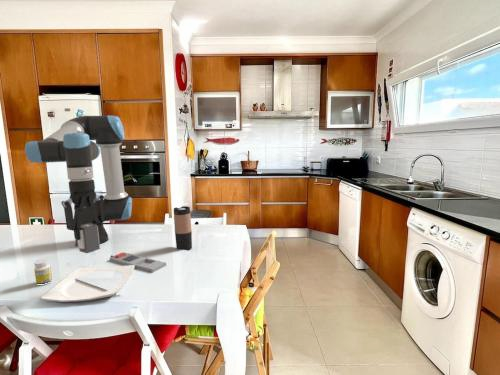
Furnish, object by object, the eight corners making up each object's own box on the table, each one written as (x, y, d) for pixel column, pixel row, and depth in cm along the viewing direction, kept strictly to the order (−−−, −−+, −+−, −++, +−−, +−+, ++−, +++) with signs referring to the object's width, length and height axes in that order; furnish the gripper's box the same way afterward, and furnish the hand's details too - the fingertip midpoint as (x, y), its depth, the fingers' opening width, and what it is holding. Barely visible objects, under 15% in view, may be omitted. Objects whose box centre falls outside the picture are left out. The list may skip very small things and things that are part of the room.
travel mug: (188, 252, 131) (185, 210, 128) (173, 251, 132) (170, 209, 129) (194, 246, 138) (192, 206, 135) (180, 245, 140) (177, 206, 137)
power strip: (104, 261, 123) (103, 254, 122) (118, 255, 129) (117, 249, 128) (153, 274, 108) (152, 267, 108) (166, 267, 114) (166, 260, 114)
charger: (79, 251, 98) (76, 226, 97) (92, 247, 102) (89, 222, 101) (87, 253, 96) (84, 227, 95) (99, 249, 100) (96, 224, 99)
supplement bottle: (42, 280, 107) (38, 259, 105) (55, 279, 107) (52, 258, 106) (33, 286, 102) (30, 264, 101) (47, 285, 102) (44, 263, 101)
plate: (116, 302, 90) (115, 295, 90) (35, 308, 88) (34, 300, 88) (139, 269, 114) (138, 263, 114) (76, 273, 112) (75, 267, 112)
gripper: (59, 183, 86) (69, 256, 90) (111, 177, 101) (118, 239, 105) (46, 182, 90) (56, 252, 93) (99, 176, 105) (105, 236, 108)
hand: (89, 245), depth 99 cm, fingers closed on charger, 4 cm apart
